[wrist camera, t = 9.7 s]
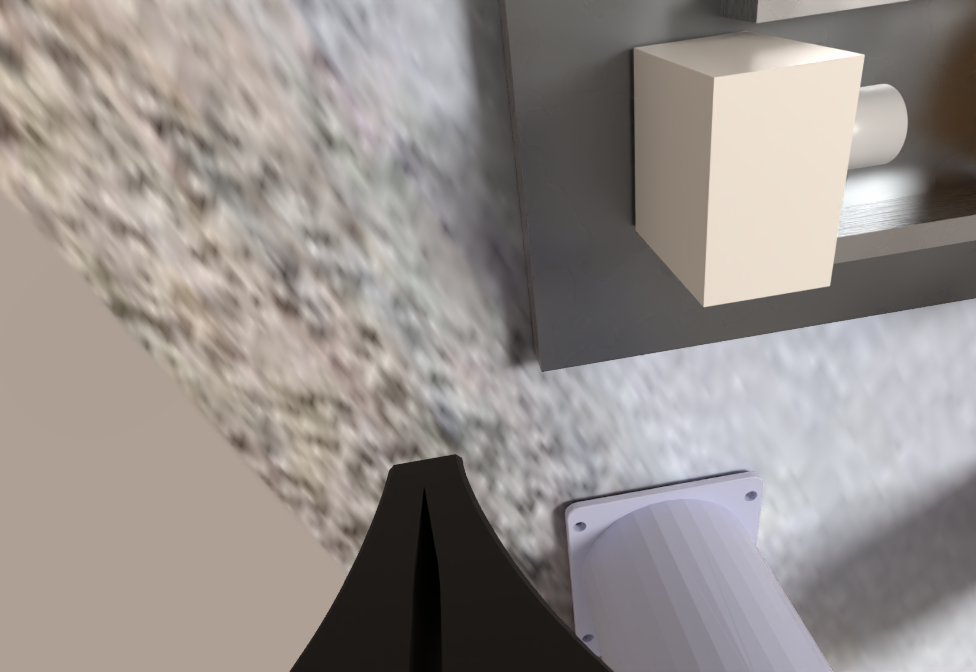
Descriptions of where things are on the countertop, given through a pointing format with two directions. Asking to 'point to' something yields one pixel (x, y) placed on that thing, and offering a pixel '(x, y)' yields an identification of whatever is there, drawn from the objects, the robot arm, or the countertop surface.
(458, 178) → the countertop surface
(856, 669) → the countertop surface
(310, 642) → the robot arm
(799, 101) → the cream block with peg
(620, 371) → the countertop surface
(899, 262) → the base
